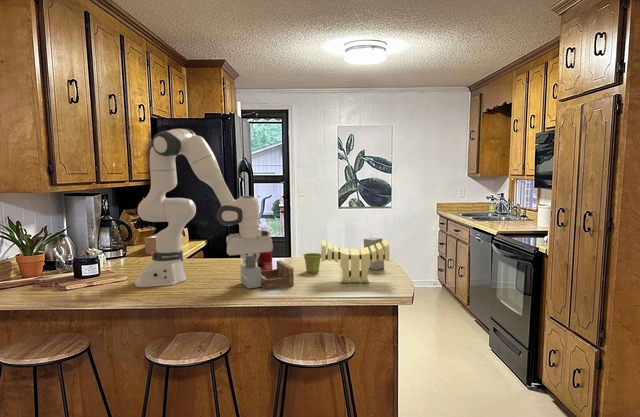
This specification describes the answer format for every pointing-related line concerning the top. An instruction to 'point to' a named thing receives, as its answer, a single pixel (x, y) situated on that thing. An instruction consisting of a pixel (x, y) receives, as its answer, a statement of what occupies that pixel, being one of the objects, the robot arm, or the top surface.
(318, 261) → the plant pot
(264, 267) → the canned food
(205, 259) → the top surface
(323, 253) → the slatted curved stool
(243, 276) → the cabinet block
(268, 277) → the brown wooden frame
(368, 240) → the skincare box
